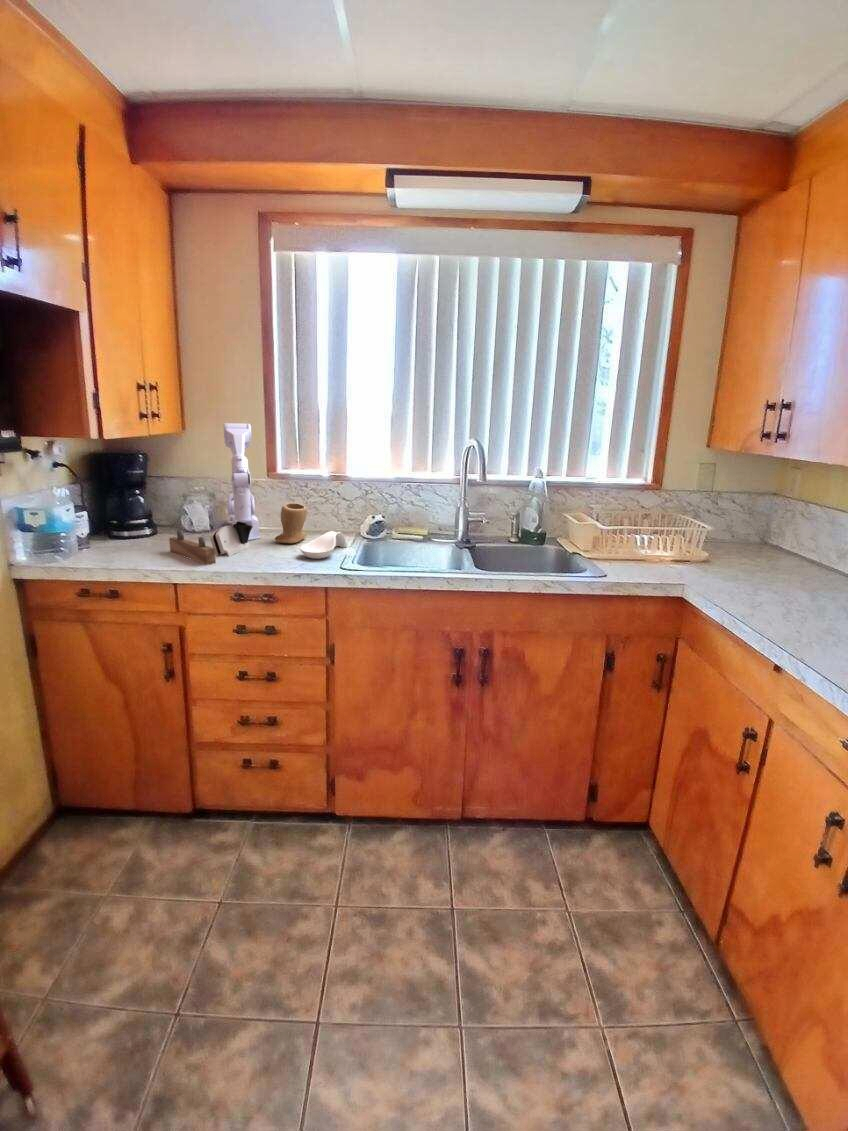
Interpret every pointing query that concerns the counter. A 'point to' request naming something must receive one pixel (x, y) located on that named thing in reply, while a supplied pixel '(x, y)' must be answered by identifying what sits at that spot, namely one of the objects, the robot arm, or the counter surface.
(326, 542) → the spoon rest
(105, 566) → the counter surface
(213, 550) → the stop fence
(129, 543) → the counter surface
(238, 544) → the white curved piece
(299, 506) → the brown boot vase
